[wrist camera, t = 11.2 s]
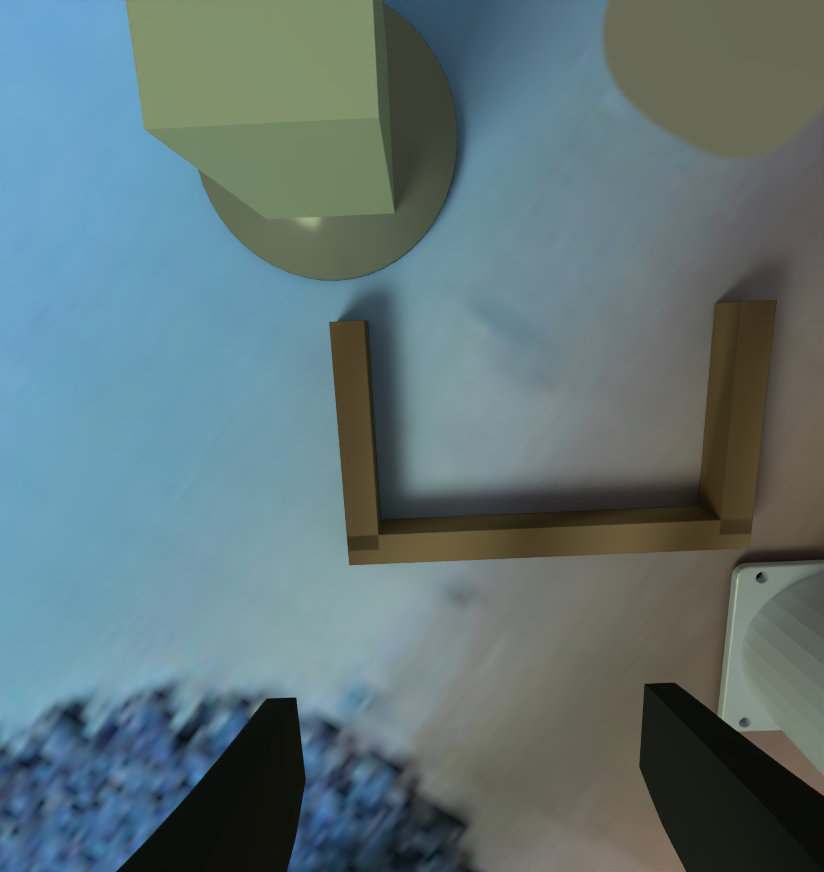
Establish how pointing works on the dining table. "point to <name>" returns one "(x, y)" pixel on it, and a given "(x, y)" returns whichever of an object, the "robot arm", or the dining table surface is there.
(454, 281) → the dining table surface
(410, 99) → the olive flat disc
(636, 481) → the dining table surface
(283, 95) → the block
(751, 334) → the brown u-shaped frame
